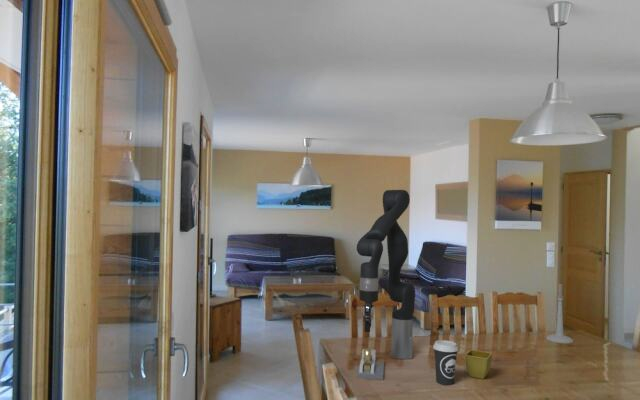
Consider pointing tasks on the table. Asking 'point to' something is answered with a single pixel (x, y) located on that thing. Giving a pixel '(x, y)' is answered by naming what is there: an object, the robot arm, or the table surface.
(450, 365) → the coffee cup
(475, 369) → the flower pot
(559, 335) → the candlestick
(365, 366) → the brass bolt
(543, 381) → the table surface
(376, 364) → the door and jamb plate
